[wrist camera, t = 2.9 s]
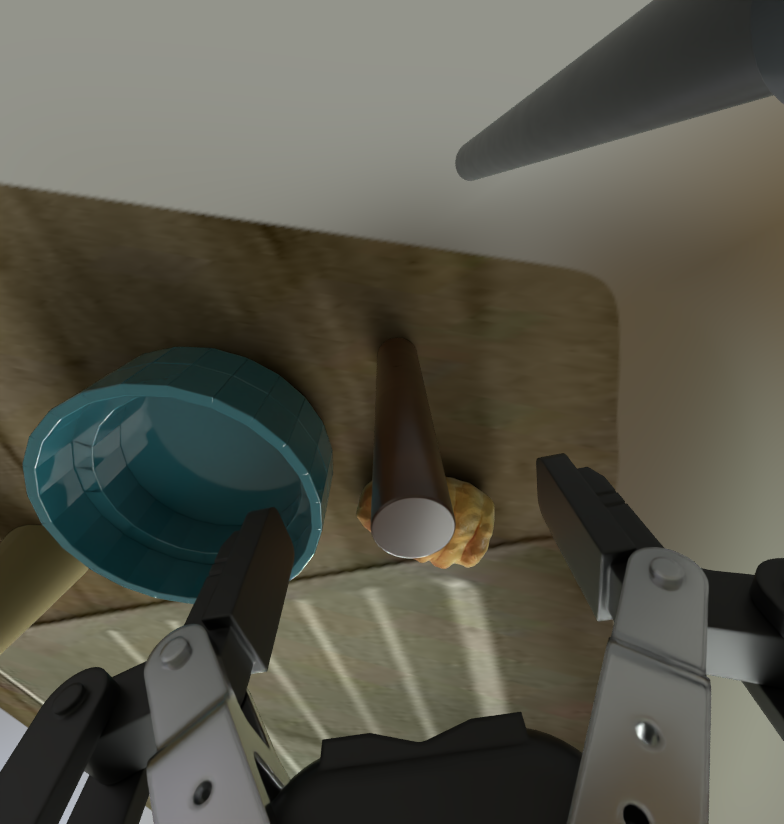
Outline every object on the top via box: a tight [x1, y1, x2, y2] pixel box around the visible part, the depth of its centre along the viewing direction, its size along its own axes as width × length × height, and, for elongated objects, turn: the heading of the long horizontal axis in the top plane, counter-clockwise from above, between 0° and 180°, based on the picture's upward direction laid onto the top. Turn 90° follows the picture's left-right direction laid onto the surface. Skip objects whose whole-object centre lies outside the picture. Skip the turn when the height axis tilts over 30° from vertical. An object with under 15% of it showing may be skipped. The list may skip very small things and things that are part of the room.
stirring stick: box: [370, 338, 456, 558], centre depth 17 cm, size 2×2×14 cm
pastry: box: [356, 477, 494, 569], centre depth 27 cm, size 9×7×4 cm
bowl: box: [22, 347, 333, 604], centre depth 23 cm, size 15×15×6 cm
